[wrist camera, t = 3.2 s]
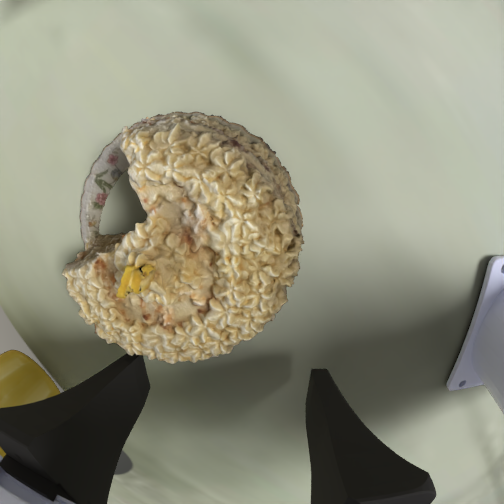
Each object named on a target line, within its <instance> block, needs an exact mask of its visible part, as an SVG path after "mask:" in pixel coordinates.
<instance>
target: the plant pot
mask: <svg viewBox="0 0 504 504" xmlns="http://www.w3.org/2000/svg"><path fill="white" fill-rule="evenodd" d="M58 394H60V391H59V389H58V388H57V386H56V385H55V383H54V382H53V380H52V379H51V378H50V377H49V376H48V375H47V374H46V372H45V371H44V370H43V369H42V368H41V367H40V366H39V365H38V364H37V363H36V362H35V361H34V360H32V359H31V358H30V357H28V356H27V355H25V354H24V353H22V352H20V351H17V350H10V351H7V352H5V353H3V354H1V355H0V408H4V407H12V406H19V405H25V404H29V403H33V402H37V401H41V400H44V399H46V398H49V397H52V396H55V395H58ZM0 455H1V456H2V457H3V458H4V456H5V455H6V453H5V452H4V451H3V449H2V448H1V447H0Z"/></svg>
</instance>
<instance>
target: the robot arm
mask: <svg viewBox="0 0 504 504" xmlns="http://www.w3.org/2000/svg"><path fill="white" fill-rule="evenodd" d="M503 265H504V256H494V257H493V258H491V260H490V261H489V263H488V267H487V271H486V275H485V279H484V282H483V286H482V290H481V293H480V297H479V300H478V303H477V307H476V310H475V313H474V316H473V319H472V322H471V325H470V328H469V330H468V333H467V336H466V339H465V341H464V344H463V346H462V349H461V351H460V354H459V356H458V359H457V361H456V363H455V366H454V368H453V370H452V373H451V375H450V377H449V379H448V381H447V384H446V385H447V388H448V389H449V390H450V391H454V390H460V389H465V388H470V387H475V386H479V385H485V386H486V388H487V389H488V391H489V392H490V394H491V395H492V397H493V398H494V400H495V401H496V403H497V404H498V406H499V408H500V409H501V411H502V412H503V414H504V266H503ZM502 266H503V268H502ZM501 268H502V270H501ZM149 390H150V384H149V380H148V376H147V372H146V367H145V363H144V359H143V355H136V354H135V353H134V355H132V356H131V355H128V354H125V355H124V356H122V357H121V358H119V359H118V360H117V361H115V362H114V363H112V364H111V365H109V366H108V367H106V368H105V369H103V370H102V371H100V372H99V373H97V374H96V375H94V376H92V377H91V378H89V379H87V380H86V381H84V382H82V383H80V384H79V385H77V386H75V387H73V388H71V389H69V390H67V391H65V392H62V393H60V394H58V395H55V396H52V397H49V398H46V399H44V400H41V401H37V402H33V403H29V404H25V405H19V406H12V407H4V408H0V447H1V448H2V449H3V451H4V452H5V453H6V455H5V456H4V458H3V457H2V456H1V455H0V504H107V500H108V495H109V491H110V487H111V483H112V479H113V475H114V472H115V469H116V466H117V462H118V460H119V457H120V454H121V451H122V448H123V446H124V444H125V442H126V440H127V438H128V436H129V434H130V432H131V430H132V428H133V426H134V424H135V422H136V420H137V418H138V417H139V415H140V413H141V411H142V409H143V407H144V404H145V402H146V399H147V396H148V393H149ZM306 429H307V437H308V445H309V454H310V462H311V504H430V503H431V502H432V501H433V500H434V499H435V497H436V491H435V487H434V484H433V482H432V479H431V477H430V475H429V473H428V472H426V471H424V470H422V469H420V468H418V467H417V466H415V465H413V464H411V463H409V462H408V461H406V460H405V459H403V458H402V457H400V456H399V455H397V454H396V453H395V452H394V451H392V450H391V449H390V448H389V447H387V446H386V445H385V444H384V443H382V442H381V441H380V440H379V439H378V438H377V437H376V436H375V435H374V434H373V433H372V432H371V431H370V430H369V429H368V428H367V427H366V426H365V425H364V423H363V422H362V421H361V420H360V419H359V417H358V416H357V415H356V414H355V412H354V411H353V410H352V408H351V407H350V406H349V404H348V403H347V401H346V400H345V398H344V397H343V395H342V394H341V392H340V391H339V389H338V387H337V386H336V384H335V382H334V381H333V379H332V377H331V375H330V373H329V371H328V370H327V369H312V370H311V376H310V381H309V387H308V393H307V398H306Z"/></svg>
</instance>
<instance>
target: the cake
mask: <svg viewBox="0 0 504 504" xmlns="http://www.w3.org/2000/svg"><path fill="white" fill-rule="evenodd" d="M249 133H250V132H248V131H247V130H246V128H245V127H243V126H241V125H239V124H236V123H229V122H228V121H226V119H223V118H222V117H221V116H220V117H219V116H214V115H211V116H207V115H205V114H204V113H199V112H192V113H183V112H175V113H174V112H172V113H170V114H167V115H160V114H158V115H156V116H154V117H151V118H150V119H149V118H148V117H146V119H142V121H141V122H138V123H135V124H134V125H133V126H131V128H129V129H128V127H127V126H124V128H123V129H122V133H120V134H119V135H118V136H117V137H116V138H115V139H114V140H113V142H112V143H110V144H108V145H107V146H106V147H105V148H104V149H103V151H102V153H101V155H100V156H99V158H98V159H97V160H96V161H95V162H94V164H93V166H92V168H91V169H92V170H91V173H90V174H89V176H88V177H87V178H86V182H85V185H84V193H83V194H82V198H81V205H82V206H81V211H80V212H81V213H80V220H81V234H82V238H83V241H84V244H85V251H84V252H79V253H78V254H77V259H76V260H75V261H74V262H71V263H68V264H66V268H65V269H64V270H63V273H62V275H63V276H65V277H66V278H67V290H68V291H69V295H70V296H71V297H73V299H74V300H75V301H76V302H77V303H78V304H79V305H80V311H79V315H80V316H81V317H82V318H84V321H85V323H86V324H89V325H91V324H93V323H94V324H95V333H97V334H98V336H99V337H100V338H102V339H105V340H106V342H107V344H110V343H116V344H118V345H119V346H121V347H122V348H123V349H125V350H126V351H127V354H128V355H131V356H132V355H134V353H135V354H136V355H144V356H145V355H147V357H148V359H149V360H153V359H155V358H157V359H158V360H159V361H163V360H164V361H165V362H167V363H170V364H174V363H176V362H177V361H180V362H182V361H187V360H189V361H191V362H194V363H195V362H197V360H205V359H209V358H210V357H212V356H217V357H219V356H218V355H219V354H229V353H231V350H232V349H233V346H234V345H238V344H239V342H240V341H242V340H243V341H248V340H250V339H252V338H253V337H255V335H256V334H257V333H258V332H261V331H263V327H264V325H265V324H266V323H267V322H269V321H273V320H274V319H275V314H274V313H278V311H279V310H280V309H281V306H282V305H283V304H285V303H286V302H287V301H288V300H287V295H286V294H287V290H286V287H287V286H288V287H292V284H294V282H293V280H294V277H295V276H297V275H298V274H297V272H298V271H299V269H300V265H299V261H298V256H299V252H300V251H302V248H301V244H304V241H303V236H302V233H301V229H302V227H303V224H302V223H303V221H302V219H303V218H302V214H301V212H300V208H299V207H298V206H297V204H298V205H299V201H300V200H299V195H298V194H297V192H296V190H295V189H294V187H293V186H292V184H291V177H290V176H289V172H288V171H286V168H285V167H284V166H283V167H282V166H281V162H280V161H279V159H278V157H276V156H275V154H276V152H275V151H272V150H271V149H270V147H269V145H268V144H266V143H265V142H263V139H262V138H261V137H257V136H255V135H253V134H249ZM127 169H128V175H129V182H130V184H131V187H132V188H133V189H134V190H135V192H136V193H137V195H138V197H139V199H140V202H141V205H142V207H143V209H144V210H145V211H146V213H147V215H148V217H147V220H145V221H144V222H143V223H136V224H135V230H134V231H129V232H128V233H126V234H124V233H120V234H117V235H109V234H107V235H101V234H99V223H100V221H101V220H100V218H101V214H102V210H103V207H104V206H105V200H106V199H107V196H108V195H109V193H110V190H111V189H112V188H113V187H114V185H115V183H116V181H117V180H118V178H119V177H120V176H121V175H122V174H123V172H124V171H126V170H127ZM140 267H142V268H141V270H142V271H143V272H142V273H141V271H140V270H139V268H140Z"/></svg>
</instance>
